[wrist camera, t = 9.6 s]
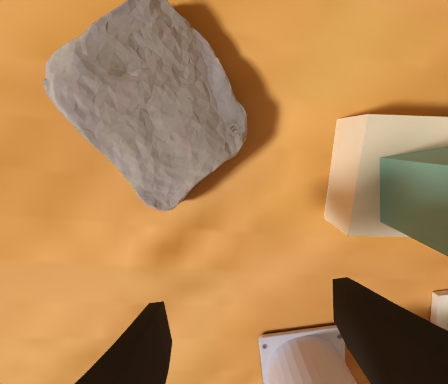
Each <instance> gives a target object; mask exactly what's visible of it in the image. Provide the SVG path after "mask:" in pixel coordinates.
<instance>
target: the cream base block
mask: <svg viewBox="0 0 448 384" xmlns="http://www.w3.org/2000/svg"><path fill="white" fill-rule="evenodd" d="M442 147H448V117H435V116H408V115H380V114H365V115H359V116H353V117H347V118H340V119H337V123H336V131H335V138H334V146H333V153H332V161H331V168H330V176H329V184H328V191H327V199H326V206H325V214H324V219H326V220H327V221H329V222H330V223H331V224H333V225H334V226H335V227H337V228H338V229H339V230H341V231H342V232H343V233H345V234H346V235H348V236H387V237H409V236H407V235H405V234H403V233H401V232H399V231H397V230H395V229H393V228H391V227H389V226H387V225H385V224H383V223H381V222H380V158H381V157H387V156H393V155H399V154H405V153H411V152H417V151H423V150H429V149H436V148H442Z"/></svg>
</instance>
